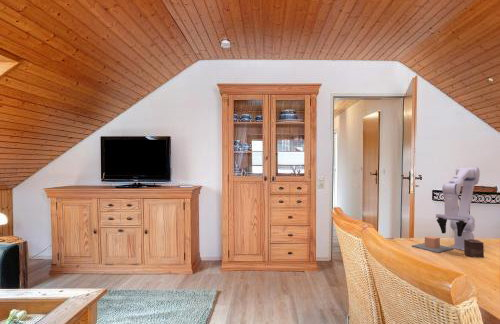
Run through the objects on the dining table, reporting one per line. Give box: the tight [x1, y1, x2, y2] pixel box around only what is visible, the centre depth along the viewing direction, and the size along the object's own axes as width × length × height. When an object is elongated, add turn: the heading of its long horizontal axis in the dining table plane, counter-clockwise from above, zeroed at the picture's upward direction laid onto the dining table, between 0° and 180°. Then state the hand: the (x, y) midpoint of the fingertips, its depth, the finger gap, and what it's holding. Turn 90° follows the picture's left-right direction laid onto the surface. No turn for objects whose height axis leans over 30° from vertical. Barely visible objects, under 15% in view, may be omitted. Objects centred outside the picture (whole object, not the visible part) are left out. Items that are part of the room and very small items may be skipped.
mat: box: [411, 242, 455, 254], centre depth 167 cm, size 14×14×1 cm
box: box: [463, 239, 485, 258], centre depth 153 cm, size 6×6×7 cm
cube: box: [424, 235, 441, 249], centre depth 167 cm, size 5×5×5 cm
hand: (451, 234), depth 157 cm, fingers open, 7 cm apart
